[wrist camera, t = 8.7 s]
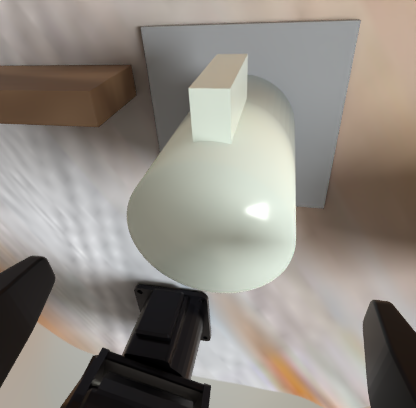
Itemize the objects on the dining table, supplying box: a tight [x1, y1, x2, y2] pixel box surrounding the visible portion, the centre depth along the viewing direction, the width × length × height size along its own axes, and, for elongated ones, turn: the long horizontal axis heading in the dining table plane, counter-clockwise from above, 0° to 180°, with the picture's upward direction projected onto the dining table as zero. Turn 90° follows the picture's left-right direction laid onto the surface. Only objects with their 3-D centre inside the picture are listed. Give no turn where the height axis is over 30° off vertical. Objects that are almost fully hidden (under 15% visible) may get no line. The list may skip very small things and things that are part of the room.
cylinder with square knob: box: [127, 54, 296, 293], centre depth 14 cm, size 7×6×9 cm
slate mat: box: [141, 20, 361, 209], centre depth 18 cm, size 10×10×1 cm
